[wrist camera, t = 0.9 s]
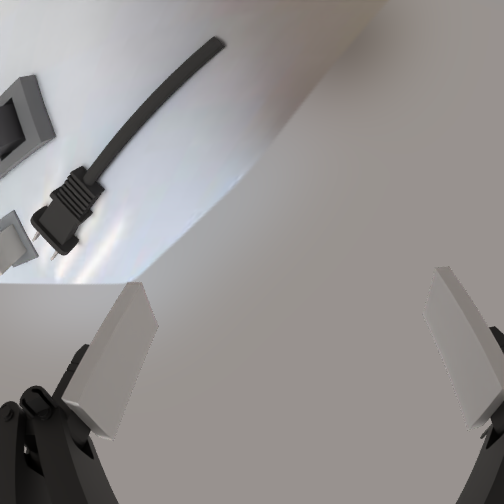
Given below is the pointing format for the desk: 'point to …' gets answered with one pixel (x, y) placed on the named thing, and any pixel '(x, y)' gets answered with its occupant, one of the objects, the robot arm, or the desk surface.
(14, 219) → the mat
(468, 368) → the robot arm
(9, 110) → the seated plug
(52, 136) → the pdu
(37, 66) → the desk surface
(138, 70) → the desk surface
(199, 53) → the electrical plug
